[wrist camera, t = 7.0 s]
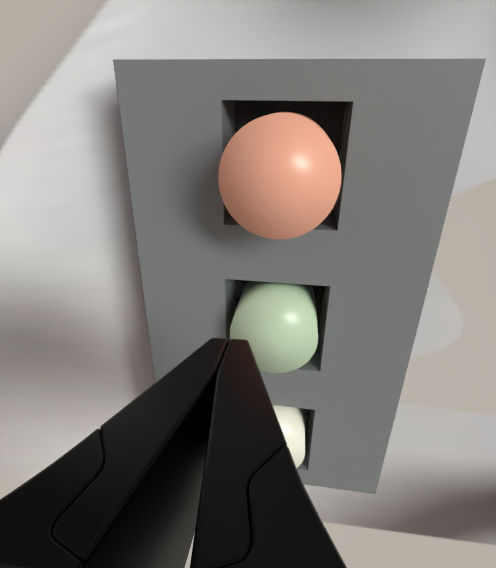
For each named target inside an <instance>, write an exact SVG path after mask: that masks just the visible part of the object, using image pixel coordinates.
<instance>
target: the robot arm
mask: <svg viewBox="0 0 496 568" xmlns="http://www.w3.org/2000/svg"><path fill="white" fill-rule="evenodd" d="M100 430H101V431H100ZM194 532H195V535H194ZM193 536H194V542H193V550H192V556H191V564H190V568H347V567H346V565H345V563H344V562H343V560H342V558H341V556H340V554H339V552H338V551H337V549H336V547H335V545H334V543H333V541H332V540H331V538H330V536H329V534H328V532H327V530H326V528H325V527H324V525H323V523H322V521H321V519H320V517H319V515H318V513H317V511H316V509H315V507H314V505H313V503H312V501H311V499H310V497H309V495H308V493H307V491H306V489H305V487H304V485H303V482H302V480H301V477H300V475H299V473H298V470H297V468H296V466H295V463H294V461H293V458H292V455H291V453H290V450H289V448H288V447H287V443H286V440H285V437H284V435H283V432H282V429H281V427H280V424H279V421H278V419H277V416H276V413H275V411H274V408H273V405H272V403H271V400H270V397H269V395H268V392H267V389H266V387H265V384H264V381H263V379H262V376H261V373H260V371H259V368H258V365H257V363H256V360H255V357H254V355H253V352H252V349H251V347H250V344H249V342H248V340H243V339H231V340H230V341H229V340H228V339H226V338H211V339H209V340H208V341H207V342H206V343H204V344H203V345H202V346H201V347H199V348H198V349H197V350H196V351H194V352H193V353H192V354H191V355H189V356H188V357H187V358H186V359H184V360H183V361H182V362H181V363H179V364H178V365H177V366H176V367H174V368H173V369H172V370H171V371H169V372H168V373H167V374H166V375H164V376H163V377H162V378H161V379H159V380H158V381H157V382H156V383H154V384H153V385H152V386H151V387H149V388H148V389H147V390H146V391H144V392H143V393H142V394H140V395H139V396H138V397H137V398H135V399H134V400H133V401H132V402H130V403H129V404H128V405H127V406H125V407H124V408H123V409H122V410H120V411H119V412H118V413H117V414H115V415H114V416H113V417H112V418H110V419H109V420H108V421H107V422H105V423H104V424H103V425H102V426H101V427H100V429H96V430H95V431H94V432H93V433H91V434H90V435H89V436H88V437H86V438H85V439H84V440H83V441H81V442H80V443H79V444H77V445H76V446H75V447H73V448H72V449H71V450H70V451H68V452H67V453H66V454H64V455H63V456H62V457H60V458H59V459H58V460H56V461H55V462H54V463H52V464H51V465H49V466H48V467H47V468H45V469H44V470H42V471H41V472H39V473H38V474H37V475H35V476H34V477H32V478H31V479H30V480H28V481H27V482H25V483H24V484H22V485H21V486H19V487H18V488H17V489H15V490H14V491H12V492H11V493H9V494H8V495H6V496H5V497H3V498H2V499H0V568H184V567H185V564H186V560H187V557H188V553H189V550H190V546H191V543H192V539H193Z"/></svg>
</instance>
